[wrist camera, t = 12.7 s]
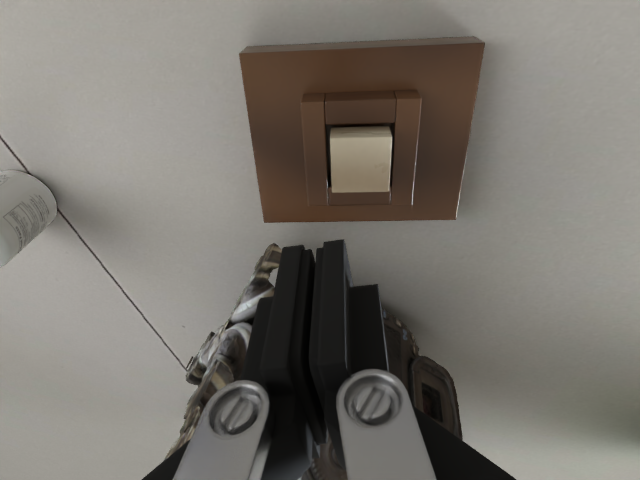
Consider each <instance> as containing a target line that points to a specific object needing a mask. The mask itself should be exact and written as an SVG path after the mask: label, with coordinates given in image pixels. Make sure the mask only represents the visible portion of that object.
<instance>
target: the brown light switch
mask: <svg viewBox="0 0 640 480" xmlns="http://www.w3.org/2000/svg"><path fill="white" fill-rule="evenodd" d="M484 46H485V43H484V42H483V41H481V40H479V39H478V38H476V37H474V36H472V37H450V38H427V39H405V40H382V41H360V42H337V43H315V44H293V45H270V46H248V47H246V48H245V49H244V50H242V51H241V52H240V53H239V57H240V64H241V70H242V77H243V84H244V91H245V97H246V104H247V111H248V118H249V124H250V131H251V138H252V145H253V151H254V158H255V165H256V171H257V178H258V185H259V192H260V198H261V205H262V212H263V219H264V223H273V222H337V221H402V220H456V216H457V210H458V204H459V198H460V192H461V186H462V180H463V174H464V168H465V162H466V156H467V150H468V144H469V137H470V131H471V125H472V119H473V113H474V107H475V101H476V95H477V89H478V83H479V77H480V71H481V65H482V59H483V53H484ZM371 126H389V127H390V131H391V135H392V149H391V168H390V187H389V192H345V193H332V182H331V154H330V132H331V128H339V127H371Z"/></svg>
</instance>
